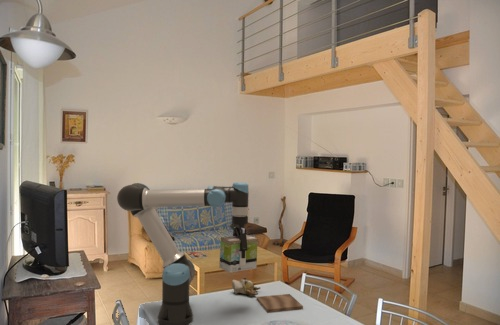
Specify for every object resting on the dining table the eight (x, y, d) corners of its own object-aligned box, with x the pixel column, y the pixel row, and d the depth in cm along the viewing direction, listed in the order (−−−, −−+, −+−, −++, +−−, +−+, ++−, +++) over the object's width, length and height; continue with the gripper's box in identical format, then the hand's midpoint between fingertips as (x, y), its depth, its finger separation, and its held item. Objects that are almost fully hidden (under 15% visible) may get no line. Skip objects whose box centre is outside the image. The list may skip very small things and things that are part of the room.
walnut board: (267, 312, 186) (267, 309, 186) (256, 299, 203) (256, 296, 203) (303, 309, 192) (303, 306, 192) (289, 296, 208) (289, 293, 208)
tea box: (230, 273, 181) (231, 241, 180) (218, 268, 189) (219, 237, 188) (257, 268, 189) (258, 237, 189) (245, 263, 197) (245, 233, 197)
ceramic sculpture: (234, 273, 218) (261, 276, 215) (233, 289, 218) (260, 292, 216) (230, 279, 207) (258, 283, 205) (229, 296, 207) (257, 300, 205)
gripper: (255, 219, 178) (254, 267, 179) (241, 211, 201) (240, 254, 202) (238, 219, 176) (237, 268, 177) (226, 211, 199) (225, 255, 200)
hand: (239, 261), depth 189 cm, fingers closed on tea box, 11 cm apart
